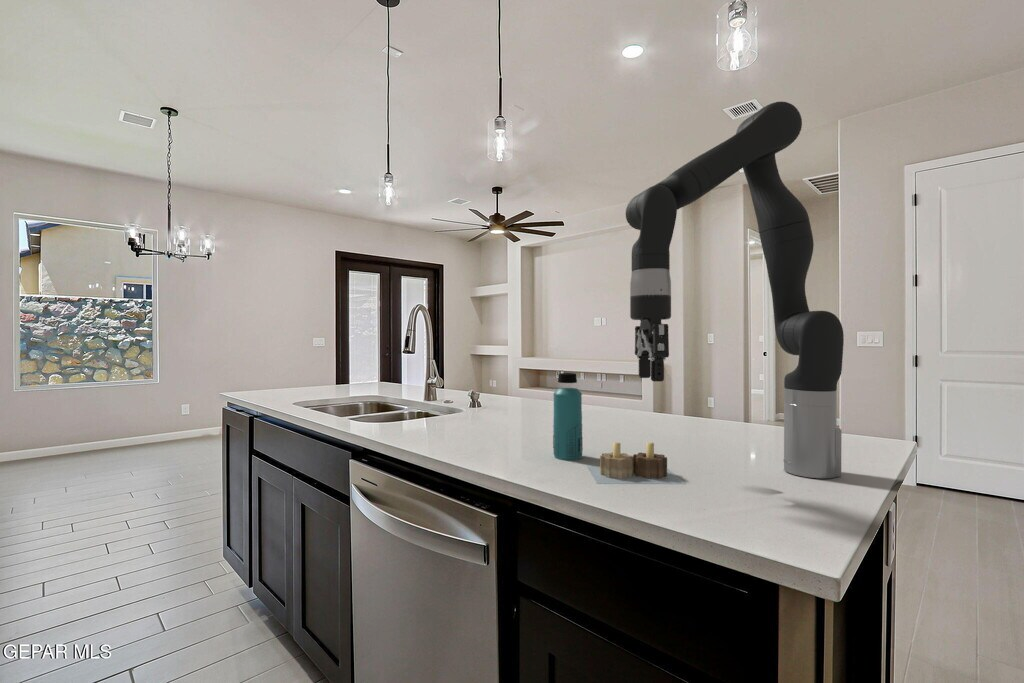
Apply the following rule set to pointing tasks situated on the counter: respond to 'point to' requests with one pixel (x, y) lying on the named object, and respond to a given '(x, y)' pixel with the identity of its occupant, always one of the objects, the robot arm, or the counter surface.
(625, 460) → the beech gear
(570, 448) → the beverage bottle
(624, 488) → the counter surface
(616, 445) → the gear board
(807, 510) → the counter surface
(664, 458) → the walnut gear
